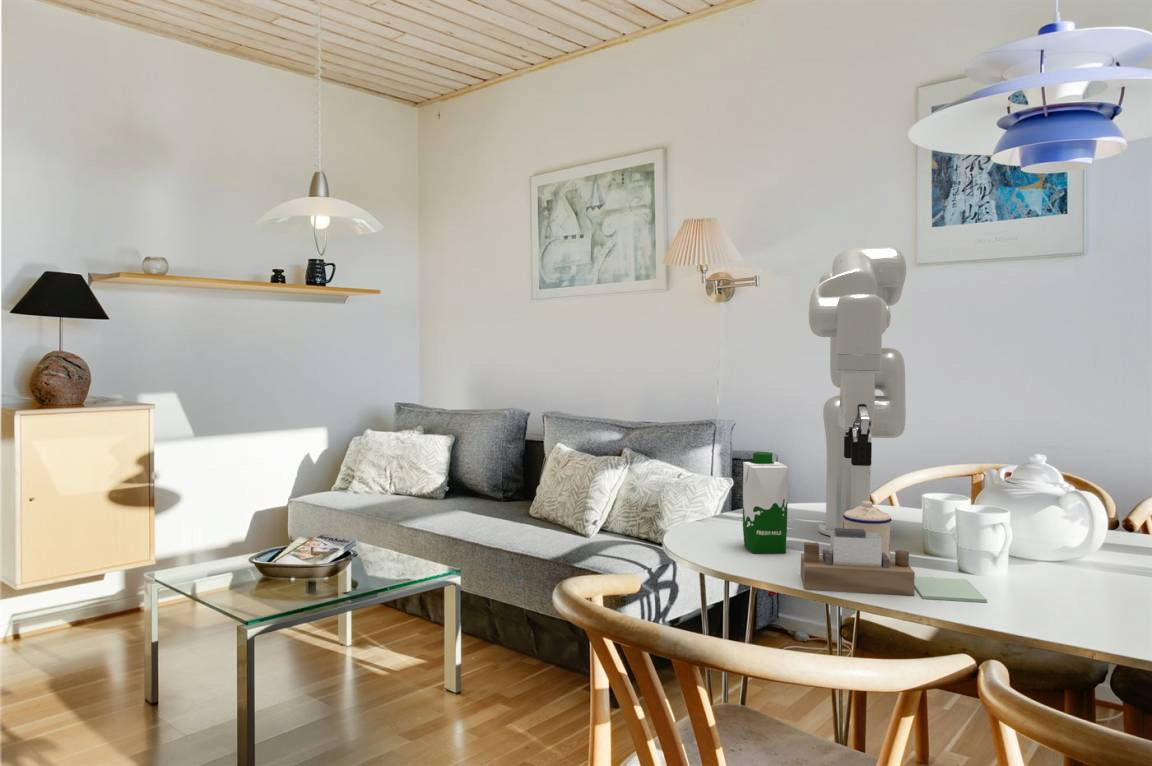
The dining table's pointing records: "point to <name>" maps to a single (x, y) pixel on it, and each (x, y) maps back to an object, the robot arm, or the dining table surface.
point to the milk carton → (765, 504)
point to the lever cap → (855, 548)
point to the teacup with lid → (870, 522)
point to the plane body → (856, 574)
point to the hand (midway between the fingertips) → (857, 461)
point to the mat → (947, 589)
